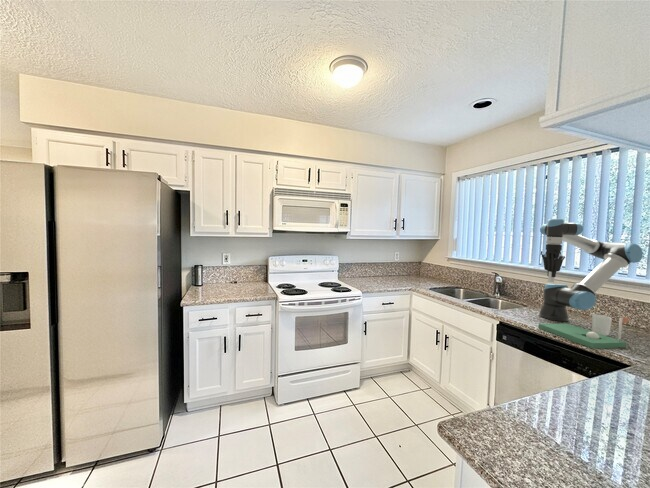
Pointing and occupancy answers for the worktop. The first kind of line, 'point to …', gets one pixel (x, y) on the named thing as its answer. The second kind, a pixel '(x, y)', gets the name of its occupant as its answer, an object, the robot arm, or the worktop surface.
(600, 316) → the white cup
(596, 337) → the ball
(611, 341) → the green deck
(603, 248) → the robot arm
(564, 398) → the worktop surface
